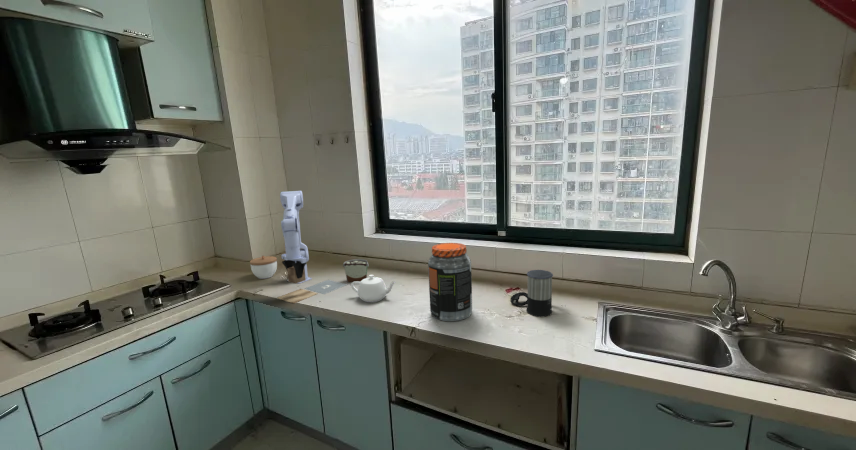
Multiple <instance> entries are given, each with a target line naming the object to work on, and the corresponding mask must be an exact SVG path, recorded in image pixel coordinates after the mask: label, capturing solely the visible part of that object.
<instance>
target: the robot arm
mask: <svg viewBox="0 0 856 450" xmlns="http://www.w3.org/2000/svg"><path fill="white" fill-rule="evenodd" d="M279 194H280V195H279V198H280V203H281V206H282V208H283V209H284V210H283V217H282V218H283V219H282V220H281V222H280V224H281V225H280V227H281V231H282V236H283V240H284V248H285V249H284V250H285V253H283V254H281V255H280V256H281V259H282V262H281V263H282V265H283V266H284V268H285V270H286V271H287V268H290V267H293V266H294V268H295V271H296V276H297V278H298V279H299V278H302V275H303V270H304V268H305V279H306V280H305V281H302V282H299V283H296V284H302V283H305V282H308V281H310V280H311V281H312V279H313V278H312V277H309V276H308V265H307V263H308V262H309V260H310V256H309V249H308V246H307V245H306V244H305V243H303V242H302V236H301V235H302V234H301V223H300V210H301V209H303V208H304V195H303V191H302V190H293V191H292V190H291V191H281V192H280V193H279ZM287 273H288V271H287ZM286 281H287V282H289V281H288V279H287V280H286Z"/></svg>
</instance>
